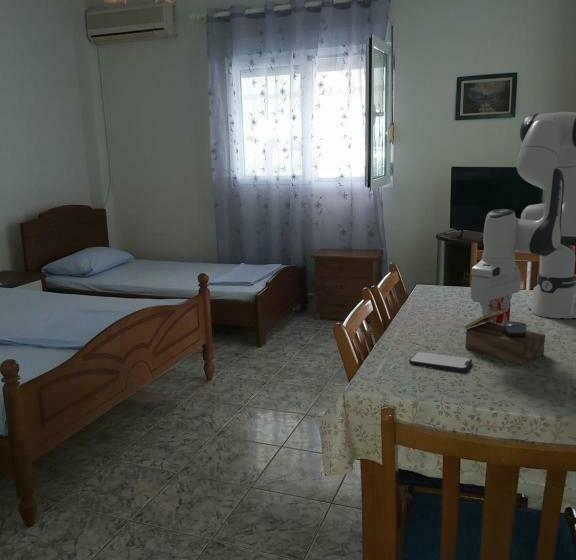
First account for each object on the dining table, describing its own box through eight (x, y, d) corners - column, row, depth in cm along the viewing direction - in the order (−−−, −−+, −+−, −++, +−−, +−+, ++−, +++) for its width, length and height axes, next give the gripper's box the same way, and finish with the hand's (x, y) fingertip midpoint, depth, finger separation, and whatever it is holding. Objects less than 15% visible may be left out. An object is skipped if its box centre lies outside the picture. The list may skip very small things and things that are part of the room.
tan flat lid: (488, 320, 178) (487, 318, 178) (508, 310, 172) (506, 307, 172) (465, 329, 171) (464, 326, 171) (484, 318, 165) (483, 315, 165)
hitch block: (488, 339, 179) (489, 321, 177) (543, 354, 165) (545, 334, 163) (465, 348, 172) (466, 329, 170) (520, 364, 158) (522, 344, 156)
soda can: (510, 333, 184) (512, 297, 182) (487, 332, 186) (489, 296, 183) (506, 326, 191) (509, 291, 188) (484, 325, 192) (486, 291, 190)
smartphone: (408, 366, 161) (466, 374, 153) (408, 360, 160) (466, 368, 153) (417, 356, 168) (472, 363, 161) (417, 351, 168) (472, 358, 160)
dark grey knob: (509, 347, 170) (511, 320, 168) (528, 352, 165) (530, 324, 163) (498, 352, 166) (499, 324, 165) (517, 357, 162) (519, 329, 160)
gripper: (508, 259, 174) (505, 303, 177) (467, 269, 162) (465, 316, 165) (527, 262, 169) (524, 307, 172) (487, 272, 157) (484, 320, 160)
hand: (495, 311), depth 168 cm, fingers open, 8 cm apart
